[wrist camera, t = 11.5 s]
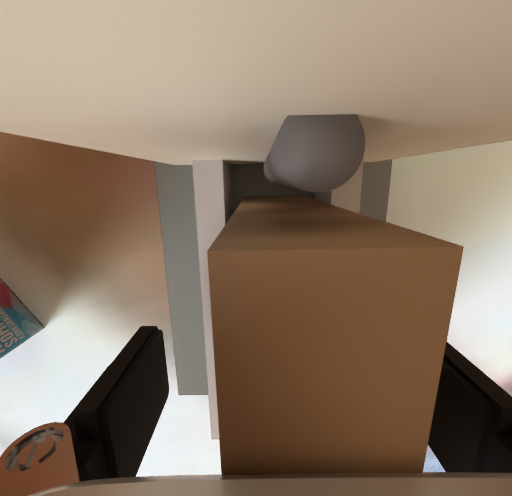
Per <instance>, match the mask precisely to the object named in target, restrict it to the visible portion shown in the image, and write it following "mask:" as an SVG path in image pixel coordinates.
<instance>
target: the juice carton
mask: <svg viewBox="0 0 512 496" xmlns="http://www.w3.org/2000/svg"><path fill="white" fill-rule="evenodd" d="M43 328H45V327H44V326H43V325H42V324H41V323H40V322H39V321H38V320H37V318H36V317H35V316H34V315H33V314H32V313H31V312H30V311H29V310H28V309H27V307H26V306H25V305H24V304H23V303H22V302H21V301H20V300H19V299H18V297H17V296H16V295H15V294H14V293H13V292H12V291H11V290H10V289H9V287H8V286H7V285H6V284H5V283H4V282H3V281H2V280H1V279H0V358H2V357H3V356H5V355H6V354H7V353H9V352H10V351H12V350H13V349H15V348H16V347H17V346H19V345H20V344H22V343H23V342H25V341H26V340H28V339H29V338H30V337H32V336H33V335H35V334H36V333H38V332H39V331H40V330H42V329H43Z"/></svg>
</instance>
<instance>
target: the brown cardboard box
mask: <svg viewBox="0 0 512 496" xmlns="http://www.w3.org/2000/svg"><path fill="white" fill-rule="evenodd" d="M462 253H463V246H459V245H456V244H453V243H450V242H447V241H444V240H441V239H437V238H434V237H431V236H428V235H425V234H422V233H419V232H415V231H412V230H409V229H406V228H403V227H400V226H397V225H393V224H390V223H387V222H384V221H381V220H378V219H375V218H371V217H368V216H365V215H362V214H359V213H356V212H353V211H349V210H346V209H343V208H340V207H337V206H334V205H330V204H327V203H324V202H321V201H318V200H315V199H312V198H308V197H305V196H254V197H244V199H243V200H242V202H241V203H240V205H239V206H238V207H237V209H236V210H235V212H234V213H233V215H232V216H231V217H230V219H229V220H228V222H227V223H226V225H225V226H224V228H223V229H222V230H221V232H220V233H219V235H218V236H217V238H216V239H215V241H214V242H213V243H212V245H211V246H210V248H209V249H208V251H207V257H208V273H209V288H210V303H211V318H212V333H213V349H214V364H215V379H216V394H217V410H218V425H219V440H220V455H221V470H222V475H230V474H297V473H417V472H423V467H424V462H425V456H426V451H427V445H428V440H429V434H430V429H431V423H432V418H433V412H434V407H435V401H436V396H437V390H438V385H439V379H440V374H441V368H442V363H443V357H444V352H445V346H446V341H447V335H448V330H449V324H450V319H451V313H452V308H453V302H454V297H455V291H456V286H457V280H458V275H459V269H460V264H461V258H462Z"/></svg>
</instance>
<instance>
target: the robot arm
mask: <svg viewBox="0 0 512 496" xmlns="http://www.w3.org/2000/svg"><path fill="white" fill-rule="evenodd" d="M168 394H169V383H168V375H167V366H166V357H165V348H164V340H163V332H162V330H158V327H157V326H141V327H140V328H139V329H138V330H137V332H136V333H135V334H134V336H133V337H132V338H131V339H130V341H129V342H128V343H127V344H126V346H125V347H124V348H123V349H122V351H121V352H120V353H119V355H118V356H117V357H116V358H115V360H114V361H113V362H112V363H111V364H110V365H109V366H108V367H107V369H106V370H105V371H104V372H103V374H102V375H101V376H100V377H99V379H98V380H97V381H96V382H95V384H94V385H93V386H92V387H91V389H90V390H89V391H88V392H87V394H86V395H85V396H84V398H83V399H82V400H81V401H80V403H79V404H78V405H77V406H76V408H75V409H74V410H73V411H72V413H71V414H70V415H69V416H68V418H67V419H66V420H65V421H64V423H58V422H54V423H48V424H44V425H42V426H39V427H36V428H34V429H32V430H30V431H29V432H27V433H25V434H23V435H22V436H21V437H19V438H18V439H17V440H15V441H14V442H13V443H12V444H11V445H10V446H9V447H8V448H7V449H6V450H5V451H4V452H3V454H2V455H1V457H0V496H512V397H511V396H510V395H509V394H508V393H507V392H506V391H504V390H503V389H502V388H501V387H500V386H498V385H497V384H496V383H495V382H494V381H493V380H491V379H490V378H489V377H488V376H487V375H485V374H484V373H483V372H482V371H481V370H480V369H478V368H477V367H476V366H475V365H474V364H472V363H471V362H470V361H469V360H468V359H466V358H465V357H464V356H463V355H462V354H461V353H459V352H458V351H457V350H456V349H455V348H453V347H452V346H451V345H450V344H449V343H448V342H446V346H445V352H444V357H443V363H442V368H441V374H440V379H439V385H438V390H437V396H436V401H435V407H434V412H433V418H432V423H431V429H430V434H429V440H428V445H429V447H430V448H431V450H432V451H433V453H434V454H435V456H436V457H437V459H438V460H439V462H440V463H441V465H442V466H443V468H444V470H445V471H446V472H417V473H297V474H230V475H175V476H148V477H135V476H136V474H137V472H138V469H139V467H140V464H141V462H142V459H143V457H144V454H145V452H146V449H147V447H148V445H149V442H150V440H151V437H152V435H153V432H154V430H155V427H156V425H157V422H158V420H159V418H160V415H161V413H162V410H163V408H164V405H165V403H166V400H167V398H168Z"/></svg>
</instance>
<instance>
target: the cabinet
mask: <svg viewBox="0 0 512 496" xmlns="http://www.w3.org/2000/svg"><path fill="white" fill-rule="evenodd" d="M0 132H5V133H10V134H15V135H20V136H26V137H31V138H36V139H41V140H46V141H52V142H57V143H62V144H67V145H72V146H78V147H83V148H88V149H93V150H98V151H104V152H109V153H114V154H119V155H124V156H130V157H135V158H140V159H145V160H150V161H154V163H155V173H156V183H157V192H158V202H159V211H160V221H161V231H162V240H163V250H164V260H165V269H166V279H167V288H168V298H169V308H170V317H171V327H172V336H173V346H174V356H175V365H176V375H177V384H178V394H179V395H209V408H210V422H211V436H212V439H219V425H218V410H217V394H216V379H215V364H214V349H213V333H212V318H211V303H210V288H209V273H208V257H207V251H208V249H209V248H210V246H211V245H212V243H213V242H214V241H215V239H216V238H217V236H218V235H219V233H220V232H221V230H222V229H223V228H224V226H225V225H226V223H227V222H228V220H229V219H230V217H231V216H232V215H233V213H234V212H235V210H236V209H237V207H238V206H239V205H240V203H241V202H242V200H243V199H244V197H254V196H305V197H308V198H312V199H315V200H318V201H321V202H324V203H327V204H330V205H334V206H337V207H340V208H343V209H346V210H349V211H353V212H356V213H359V214H362V215H365V216H368V217H371V218H375V219H378V220H381V221H384V222H385V221H386V212H387V203H388V193H389V184H390V175H391V165H392V159H395V158H401V157H407V156H414V155H420V154H426V153H432V152H439V151H445V150H451V149H457V148H464V147H470V146H476V145H482V144H489V143H495V142H501V141H507V140H512V0H0Z"/></svg>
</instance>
